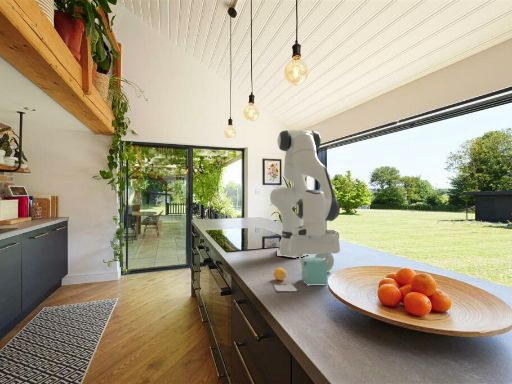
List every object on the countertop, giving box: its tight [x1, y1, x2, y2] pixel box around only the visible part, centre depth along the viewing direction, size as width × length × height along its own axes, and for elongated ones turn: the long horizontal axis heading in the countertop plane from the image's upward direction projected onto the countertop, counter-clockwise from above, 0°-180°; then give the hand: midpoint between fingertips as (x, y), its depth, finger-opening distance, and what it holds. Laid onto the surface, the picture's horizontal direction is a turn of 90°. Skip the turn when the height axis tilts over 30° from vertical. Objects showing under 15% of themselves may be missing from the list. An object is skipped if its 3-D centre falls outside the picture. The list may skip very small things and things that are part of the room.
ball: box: [273, 267, 287, 281], centre depth 106 cm, size 5×5×5 cm
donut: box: [314, 253, 335, 272], centre depth 116 cm, size 10×3×10 cm, turn 111°
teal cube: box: [301, 257, 328, 285], centre depth 103 cm, size 8×8×9 cm
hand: (314, 264), depth 103 cm, fingers open, 8 cm apart
